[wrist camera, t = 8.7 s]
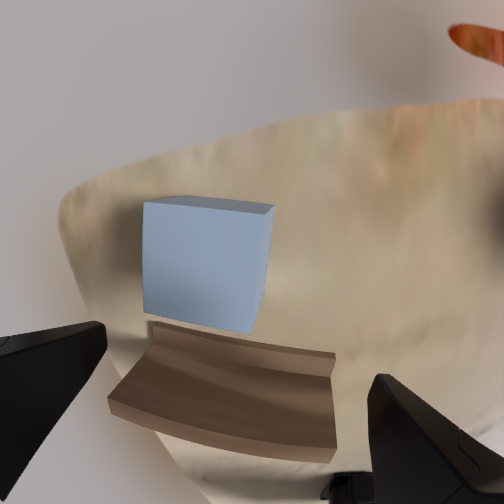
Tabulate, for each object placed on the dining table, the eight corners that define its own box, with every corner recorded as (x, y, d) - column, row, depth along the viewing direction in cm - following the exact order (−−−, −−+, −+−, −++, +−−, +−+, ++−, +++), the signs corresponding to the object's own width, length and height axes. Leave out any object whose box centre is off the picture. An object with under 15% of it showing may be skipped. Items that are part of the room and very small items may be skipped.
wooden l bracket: (319, 400, 22) (321, 476, 14) (159, 369, 23) (115, 429, 16) (334, 353, 20) (346, 430, 13) (156, 321, 22) (102, 377, 14)
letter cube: (264, 292, 20) (250, 335, 14) (182, 279, 21) (143, 313, 15) (275, 204, 19) (264, 214, 13) (186, 195, 19) (143, 202, 14)
